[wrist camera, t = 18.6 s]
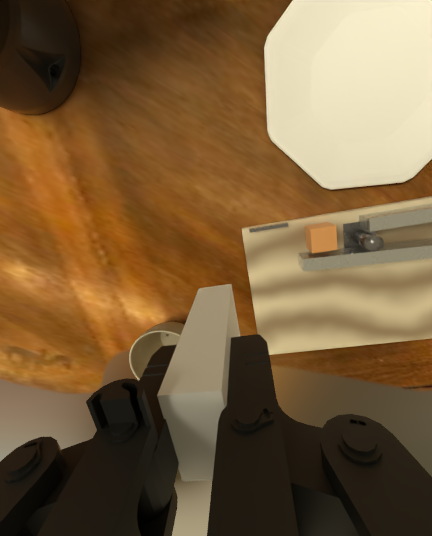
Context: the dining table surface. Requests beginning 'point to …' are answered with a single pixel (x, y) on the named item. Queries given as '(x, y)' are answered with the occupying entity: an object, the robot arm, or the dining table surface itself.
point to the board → (337, 288)
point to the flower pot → (153, 344)
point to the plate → (352, 89)
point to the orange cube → (321, 237)
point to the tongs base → (375, 225)
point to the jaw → (366, 255)
